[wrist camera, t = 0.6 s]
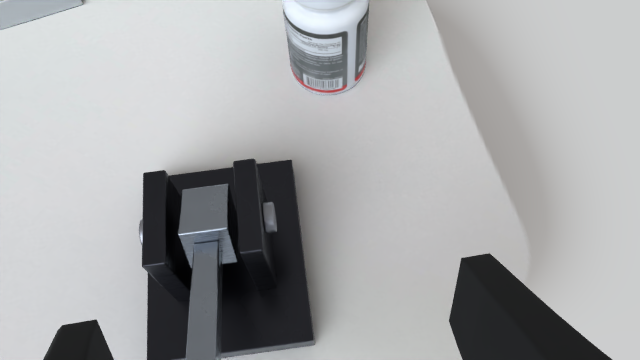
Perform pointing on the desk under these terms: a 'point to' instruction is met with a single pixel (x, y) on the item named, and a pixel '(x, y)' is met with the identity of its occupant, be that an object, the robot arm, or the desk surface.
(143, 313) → the desk surface
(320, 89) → the pill bottle
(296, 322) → the bracket
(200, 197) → the tap lever
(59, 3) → the picture frame
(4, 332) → the desk surface
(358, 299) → the desk surface
